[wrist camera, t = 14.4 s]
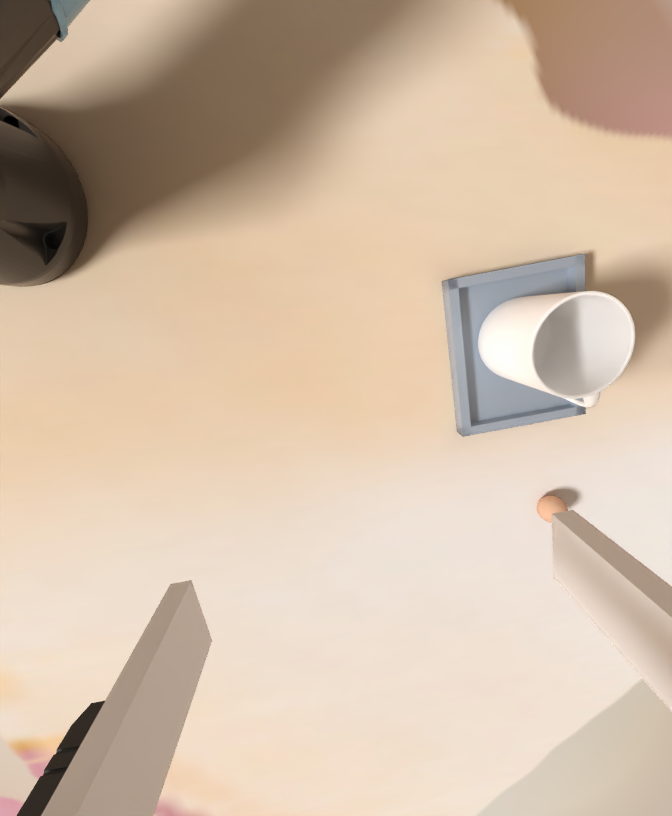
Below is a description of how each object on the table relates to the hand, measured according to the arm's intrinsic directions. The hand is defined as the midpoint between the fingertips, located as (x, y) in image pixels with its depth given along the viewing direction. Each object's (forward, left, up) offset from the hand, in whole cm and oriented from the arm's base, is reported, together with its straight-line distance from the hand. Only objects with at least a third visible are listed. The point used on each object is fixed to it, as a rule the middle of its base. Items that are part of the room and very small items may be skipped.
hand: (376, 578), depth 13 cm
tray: (-2, +20, -29) cm, 35 cm away
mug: (-2, +21, -28) cm, 35 cm away
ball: (+18, +23, -29) cm, 41 cm away
